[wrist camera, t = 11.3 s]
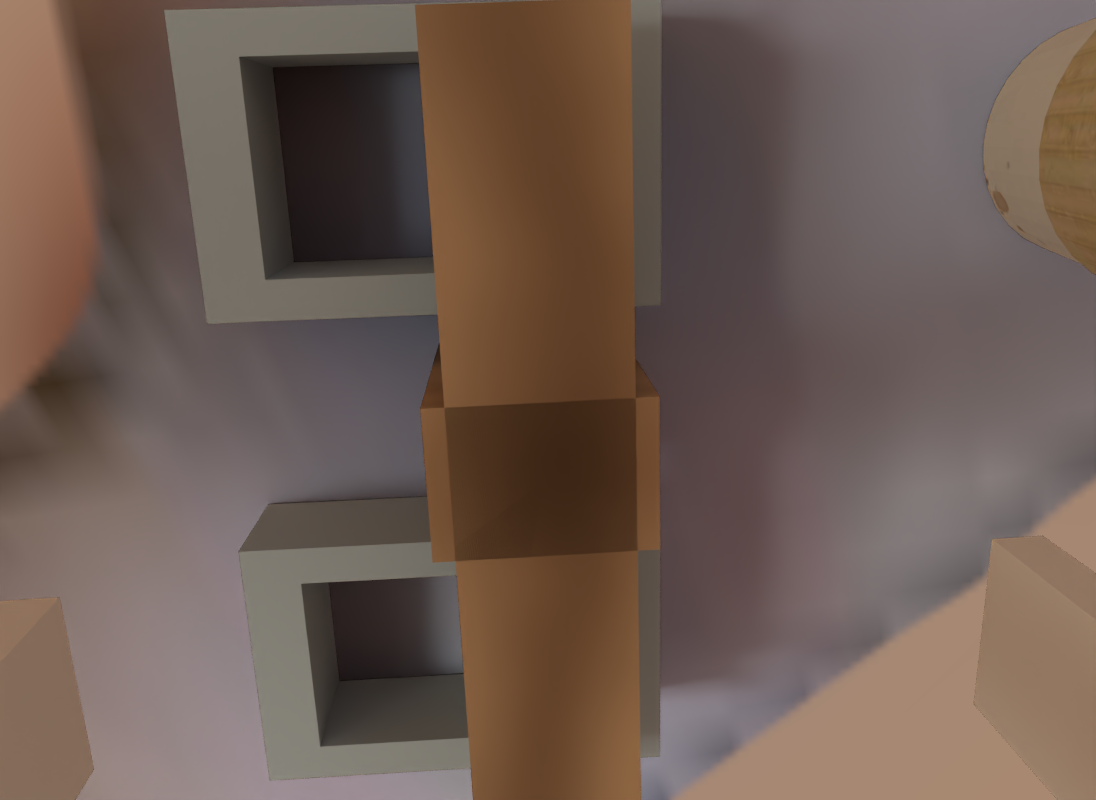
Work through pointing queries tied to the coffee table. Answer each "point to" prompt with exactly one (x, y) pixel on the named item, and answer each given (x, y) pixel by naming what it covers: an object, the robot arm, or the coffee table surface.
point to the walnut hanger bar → (539, 388)
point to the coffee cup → (1048, 146)
